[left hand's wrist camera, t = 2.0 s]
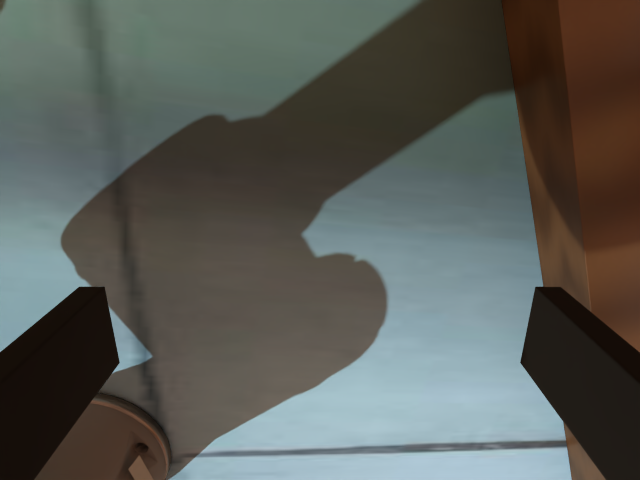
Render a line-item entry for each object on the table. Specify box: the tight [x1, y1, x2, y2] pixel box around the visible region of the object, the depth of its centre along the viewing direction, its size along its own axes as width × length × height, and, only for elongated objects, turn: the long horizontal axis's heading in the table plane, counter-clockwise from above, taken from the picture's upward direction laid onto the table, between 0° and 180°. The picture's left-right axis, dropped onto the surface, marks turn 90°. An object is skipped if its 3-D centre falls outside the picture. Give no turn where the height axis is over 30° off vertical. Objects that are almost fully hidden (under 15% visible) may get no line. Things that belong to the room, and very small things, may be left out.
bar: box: [502, 0, 640, 480], centre depth 31 cm, size 74×5×7 cm, turn 18°
